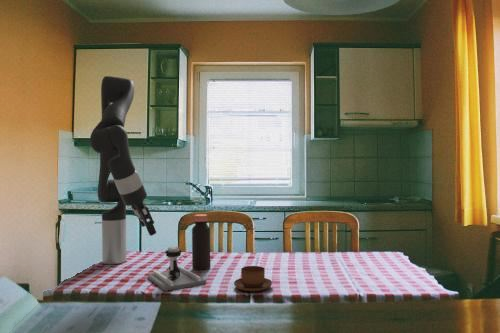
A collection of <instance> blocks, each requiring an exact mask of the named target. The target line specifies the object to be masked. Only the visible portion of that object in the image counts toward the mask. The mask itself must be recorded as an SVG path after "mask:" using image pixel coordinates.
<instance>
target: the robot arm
mask: <svg viewBox="0 0 500 333" xmlns="http://www.w3.org/2000/svg"><path fill="white" fill-rule="evenodd" d="M100 87H101V88H100V96H101V98H100V99H101V101H100V102H101V104H100V105H101V119H100V121H99V122H98V124H97V125H96V126H95V127H94V129H93V130H92V131H91V133H90V136H89V137H90V138H89V143H90V146H91V149H93V151H94V152H95V153H98V154H99V171H98V172H99V173H98V183H97V198H98V201H99V202H100V203H105V204H106V203H108V204H110V203H116V205H115V206H114V207H112V208H110V209H108V210H106V211H103V212H102V213H101V245H102V246H101V247H102V248H101V249H102V250H101V251H102V252H101V253H102V257H101V258H102V259H101V261H102V264H105V265H116V264H121V263H125V262H127V206H128V207H129V206H130V207H131V210H132V212H133V214H134V215H135V217H137V219H138V222H139V223H140V226H141V227H145V228H146V230H147V232H148V234H149V236H154V235H156V234H157V230H156V228H155V221H154V219H153V216H152V214H151V211H150V210H149V207H148V206H147V204H146V203H145V202H144V200H145V199H146V198H147V196H148V194H147V192H146V189H145V186H144V183H143V182H142V178H141V177H140V175H139V174H138V172H137V170H136V168H135V165H134V162H133V160H132V157H131V153H130V147H129V136H128V132H127V130H126V129H125V124H126V118H127V114H128V113H129V110H130V108H131V105H132V103H133V100H134V97H135V96H134V95H135V84H134V82H133V80H132V79H129V78H124V77H118V76H109V75H106V76H103V78H102V80H101V85H100ZM110 175H111V176H112V178H113V179H109V177H110ZM148 220H149V221H148Z"/></svg>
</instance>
